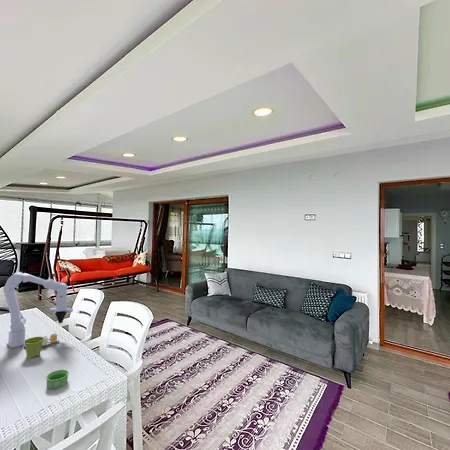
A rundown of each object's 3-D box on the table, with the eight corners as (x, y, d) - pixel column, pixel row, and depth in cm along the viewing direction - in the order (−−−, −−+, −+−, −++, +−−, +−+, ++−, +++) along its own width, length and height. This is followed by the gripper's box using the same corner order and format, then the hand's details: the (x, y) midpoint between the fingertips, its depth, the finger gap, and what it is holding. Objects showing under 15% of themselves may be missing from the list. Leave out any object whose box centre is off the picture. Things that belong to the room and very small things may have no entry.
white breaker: (40, 344, 160) (41, 336, 160) (45, 342, 162) (45, 335, 162) (42, 345, 158) (43, 337, 158) (47, 343, 160) (47, 336, 160)
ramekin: (58, 391, 117) (58, 381, 117) (40, 388, 119) (41, 378, 119) (72, 379, 126) (73, 370, 126) (56, 377, 128) (56, 368, 128)
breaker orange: (50, 341, 164) (50, 334, 164) (54, 339, 166) (55, 332, 166) (52, 342, 162) (52, 335, 163) (56, 341, 165) (57, 333, 165)
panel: (23, 347, 158) (23, 344, 158) (51, 338, 171) (51, 336, 171) (30, 352, 152) (30, 348, 152) (59, 342, 165) (59, 339, 165)
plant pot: (32, 360, 143) (33, 344, 143) (18, 358, 145) (19, 342, 145) (47, 352, 152) (48, 337, 152) (34, 350, 154) (34, 335, 154)
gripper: (46, 303, 169) (45, 324, 169) (68, 304, 169) (68, 325, 169) (53, 300, 176) (52, 320, 176) (75, 301, 176) (74, 321, 176)
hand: (60, 322), depth 173 cm, fingers closed
